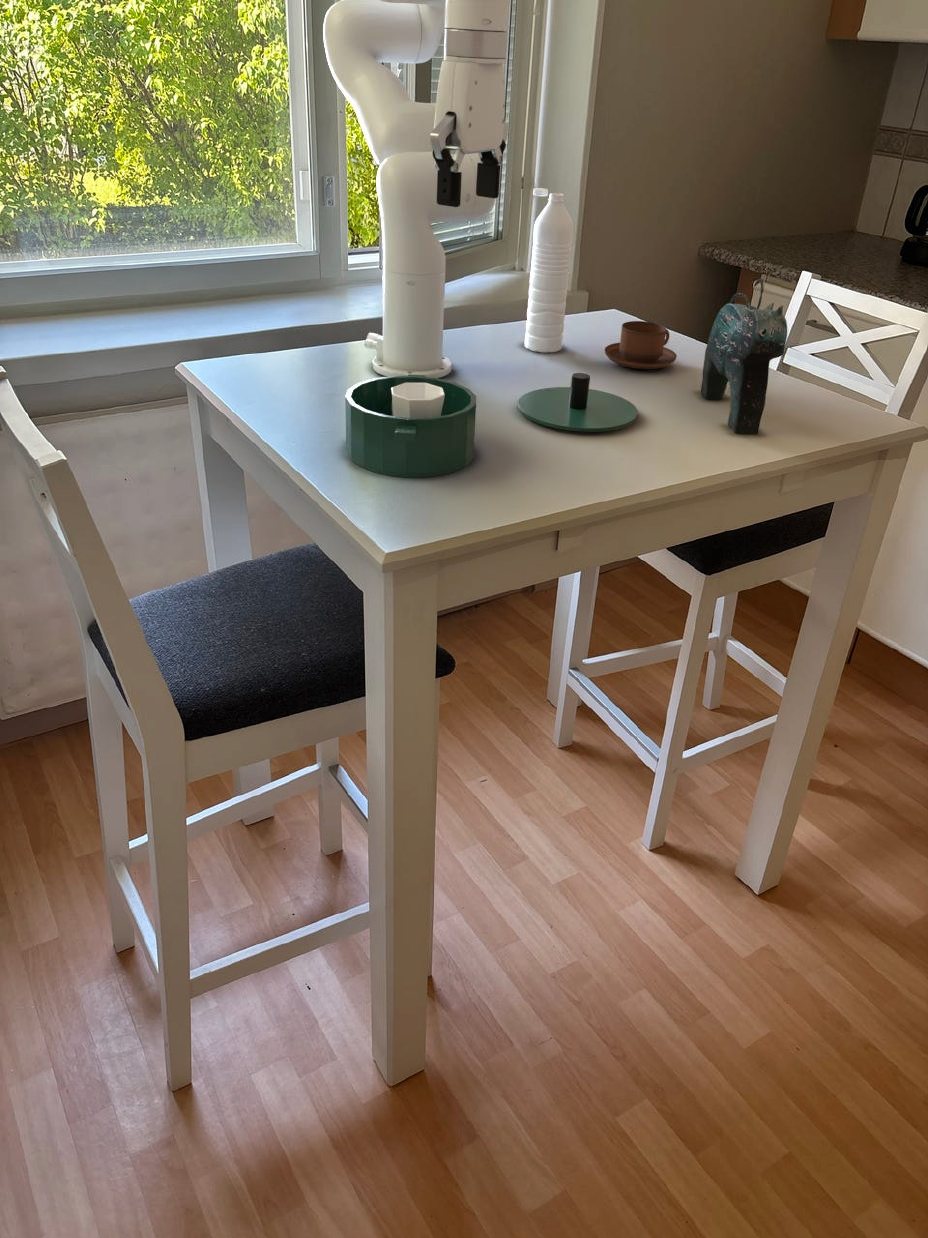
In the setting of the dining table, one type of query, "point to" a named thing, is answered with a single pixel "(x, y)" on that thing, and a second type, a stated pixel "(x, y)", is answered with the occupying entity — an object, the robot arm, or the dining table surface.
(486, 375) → the dining table surface
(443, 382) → the pot
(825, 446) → the dining table surface
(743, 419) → the ceramic cat
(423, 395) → the cup
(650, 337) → the cup and saucer
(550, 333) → the water bottle
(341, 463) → the dining table surface
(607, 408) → the pot lid
